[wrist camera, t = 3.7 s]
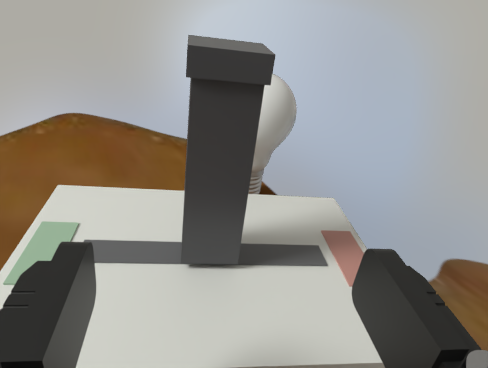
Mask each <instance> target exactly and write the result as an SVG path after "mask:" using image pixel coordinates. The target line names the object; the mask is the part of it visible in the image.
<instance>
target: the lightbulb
mask: <svg viewBox="0 0 488 368" xmlns="http://www.w3.org/2000/svg"><path fill="white" fill-rule="evenodd" d="M295 119H296V102H295V98H294V95H293V93H292V91H291V89H290V88H289V86H288V85H287V84H286V83H285V82H284V81H283V80H282V79H281V78H280V77H278V76H276V75H275V74H272V79H271V85H265V86H264V93H263V99H262V106H261V113H260V119H259V126H258V133H257V139H256V146H255V153H254V159H253V166H252V173H251V179H250V186H249V192H248V194H259V193H260V188H261V183H262V175H263V171H264V168H265V167H266V165H267V164H268V162H269V159H270V157H271V154H272V153H273V151H274V150H275V149H276V148H277V147H278V146H279V145H280V144H281V143H282V142H283V141H284V140H285V139H286V137H287V136H288V135H289V133H290V132H291V130H292V128H293V126H294V123H295Z"/></svg>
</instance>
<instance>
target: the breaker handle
mask: <svg viewBox="0 0 488 368" xmlns="http://www.w3.org/2000/svg"><path fill="white" fill-rule="evenodd" d="M274 60H275V54H274V53H273V52H272V51H270V50H269V49H268V48H267V47H266V46H265V45H263V44H261V43H252V42H244V41H235V40H227V39H218V38H210V37H201V36H193V35H189V36H188V50H187V69H186V77H190V78H191V83H190V100H189V117H188V135H187V153H186V171H185V189H184V207H183V225H182V246H181V263H184V264H238V259H239V252H240V246H241V239H242V232H243V226H244V219H245V212H246V206H247V199H248V192H249V186H250V179H251V173H252V166H253V159H254V153H255V146H256V139H257V133H258V126H259V119H260V113H261V106H262V99H263V93H264V86H265V85H271V79H272V73H273V66H274Z"/></svg>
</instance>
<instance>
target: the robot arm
mask: <svg viewBox="0 0 488 368" xmlns="http://www.w3.org/2000/svg"><path fill="white" fill-rule="evenodd" d="M95 298H96V274H95V263H94V251H93V245H92V243H91V242H61V243H60V244H59V246H58V248H57V250H56V252H55V254H54V256H53V258H52V260H51V261H37V262H35V263H34V264H33V265H32V266H30V267H29V268H28V269H27V270H26V271H24V272H23V273H22V274H21V275H20V277H19V278H18V280H17V282H16V284H15V285H14V287H13V289H12V290H11V294H9V296H8V297H7V299H6V301H5V302H4V304H3V308H2V309H0V368H76V365H77V362H78V358H79V355H80V352H81V348H82V345H83V342H84V338H85V335H86V332H87V328H88V325H89V322H90V318H91V315H92V312H93V308H94V304H95ZM352 300H353V304H354V307H355V309H356V311H357V313H358V315H359V317H360V319H361V321H362V323H363V325H364V327H365V329H366V331H367V333H368V335H369V337H370V339H371V341H372V343H373V344H374V346H375V348H376V350H377V352H378V354H379V356H380V358H381V360H382V362H383V364H384V366H385V368H488V351H485V350H481V348H480V347H479V346H478V345H477V343H476V342H475V341H474V339H473V338H472V337H471V336H470V334H469V333H468V332H467V331H466V329H465V328H464V327H463V326H462V324H461V323H460V322H459V320H458V319H457V318H456V317H455V315H454V314H453V313H452V312H451V310H450V309H449V308H448V307H447V306H445V303H444V301H443V300H442V299H441V298H440V296H439V295H436V291H435V290H434V289H433V288H432V286H431V285H430V284H429V283H428V281H427V280H426V279H425V278H424V277H423V276H422V275H420V274H419V273H418V272H416V271H415V270H414V269H412V268H411V267H410V266H406V265H405V263H404V262H403V261H402V259H401V258H400V257H399V255H398V254H397V253H396V252H395V251H394V250H392V249H367V250H366V251H365V252H364V254H363V257H362V260H361V263H360V266H359V268H358V271H357V274H356V277H355V280H354V283H353V286H352Z"/></svg>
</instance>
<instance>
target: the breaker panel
mask: <svg viewBox="0 0 488 368" xmlns="http://www.w3.org/2000/svg"><path fill="white" fill-rule="evenodd" d="M183 207H184V191H174V190H153V189H132V188H111V187H90V186H69V185H58V186H57V187H56V189H55V190H54V192H53V193H52V195H51V196H50V198H49V199H48V201H47V202H46V204H45V205H44V207H43V208H42V210H41V211H40V213H39V214H38V216H37V217H36V219H35V220H34V222H33V223H32V225H31V226H30V228H29V229H28V231H27V232H26V234H25V235H24V237H23V238H22V240H21V241H20V243H19V244H18V246H17V247H16V249H15V250H14V252H13V253H12V255H11V256H10V258H9V259H8V261H7V262H6V264H5V265H4V267H3V268H2V270H1V271H0V309H2V308H3V304H4V302H5V301H6V299H7V297H8V296H9V294H11V290H12V289H13V287H14V285H15V284H16V282H17V280H18V278H19V277H20V275H21V274H22V273H23V272H24V271H26V270H27V269H28V268H29V267H30V266H32V265H33V264H34V263H35V262H37V261H51V260H52V258H53V256H54V254H55V252H56V250H57V248H58V246H59V244H60V243H61V242H91V243H92V245H93V251H94V263H95V274H96V298H95V304H94V308H93V312H92V315H91V318H90V322H89V325H88V328H87V332H86V335H85V338H84V342H83V345H82V348H81V352H80V355H79V358H78V362H77V365H76V368H385V366H384V364H383V362H382V360H381V358H380V356H379V354H378V352H377V350H376V348H375V346H374V344H373V343H372V341H371V339H370V337H369V335H368V333H367V331H366V329H365V327H364V325H363V323H362V321H361V319H360V317H359V315H358V313H357V311H356V309H355V307H354V304H353V300H352V286H353V283H354V280H355V277H356V274H357V271H358V268H359V266H360V263H361V260H362V257H363V254H364V252H365V251H366V250H367V248H366V246H365V245H364V243H363V242H362V240H361V239H360V237H359V236H358V234H357V233H356V232H355V230H354V228H353V227H352V225H351V224H350V222H349V221H348V219H347V217H346V216H345V214H344V213H343V212H342V210H341V208H340V207H339V205H338V204H337V202H336V201H335V199H334V198H321V197H300V196H279V195H258V194H248V199H247V206H246V212H245V219H244V226H243V232H242V239H241V246H240V252H239V259H238V264H184V263H181V246H182V225H183Z"/></svg>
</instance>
